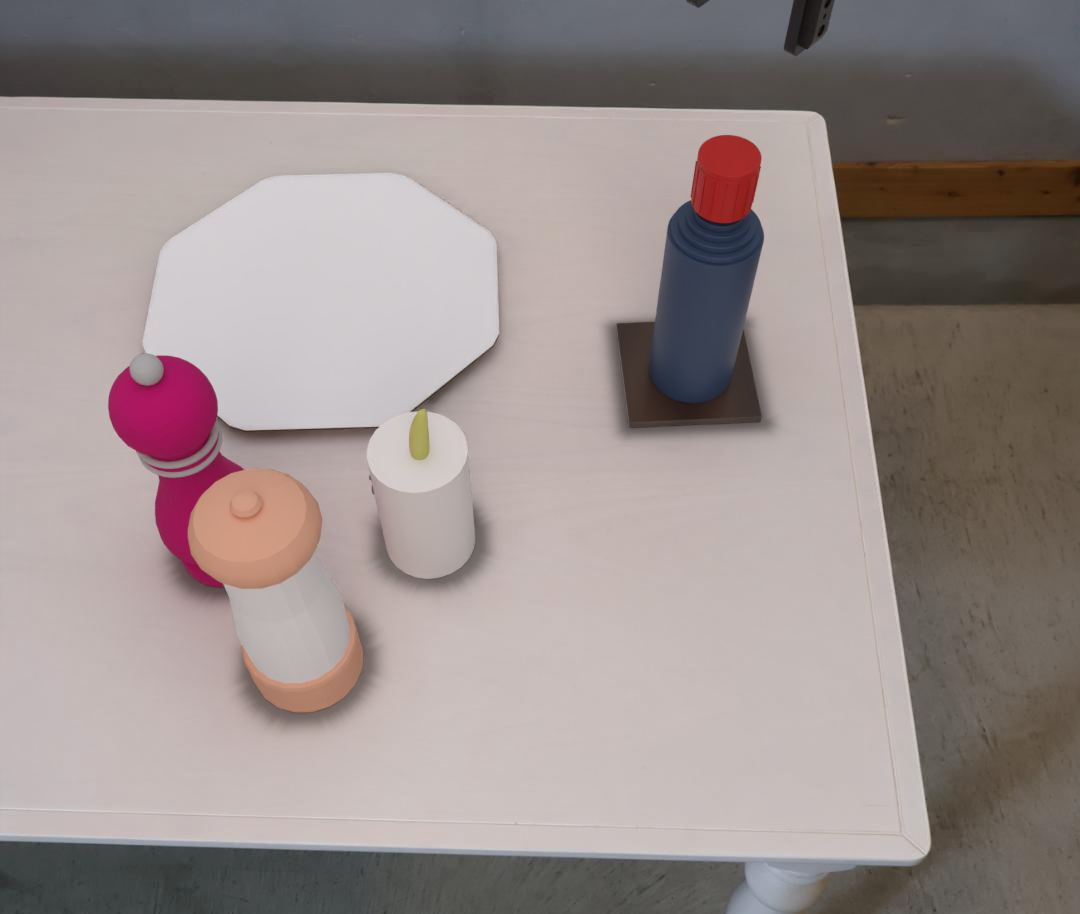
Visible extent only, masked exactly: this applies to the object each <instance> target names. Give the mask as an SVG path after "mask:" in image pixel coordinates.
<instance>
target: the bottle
mask: <svg viewBox="0 0 1080 914" xmlns="http://www.w3.org/2000/svg"><path fill="white" fill-rule="evenodd" d="M764 241H765V231H764V228H763V225H762V222H761V220H760V218H759V216H758V215H757V213H756V212H755V211H754V210H753V209H752V208H751V210H750V212H749V213H748V214H747V215H746V216H745V217H744V218H742V219H741V220H738V221H736V222H732V223H716V222H712V221H709V220H707V219H705V218H703V217H701V216H700V215H698V214H697V212H696V211H695V210H694V208H693V206H692V203H691V199H690V200H688V201H686V202H684V203H683V204H682V205H680V206H679V207H678V208H677V210H676V211H675V212H674V213H673V214H672V215H671V217H670V219H669V220H668V224H667V228H666V236H665V244H664V249H663V259H662V264H661V265H662V266H661V273H660V282H659V288H658V290H659V291H658V294H657V295H658V296H657V302H656V303H657V304H656V310H655V318H654V322H655V325H654V332H653V339H652V347H651V354H650V362H649V374H650V378H651V380H652V382H653V384H654V385H655V386H656V388H657V389H658V390H659V391H660V392H662V393H663V394H664V395H666V396H668V397H670V398H672V399H674V400H677V401H680V402H685V403H702V402H706V401H710V400H712V399H714V398H716V397H718V396H720V395H721V394H722V393H723V392H724V391H725V390H726V389H727V388H728V386H729V384H730V382H731V378H732V374H733V370H734V366H735V361H736V357H737V353H738V349H739V344H740V340H741V336H742V332H743V329H744V327H745V323H746V318H747V314H748V310H749V306H750V301H751V297H752V292H753V289H754V284H755V279H756V276H757V273H758V272H757V271H758V268H759V262H760V258H761V256H762V255H761V254H762V250H763V246H764Z"/></svg>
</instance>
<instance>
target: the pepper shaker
mask: <svg viewBox="0 0 1080 914" xmlns="http://www.w3.org/2000/svg"><path fill="white" fill-rule="evenodd" d="M322 527H323V516H322V512H321V510H320V505H319V502H318V501H317V499H316V498H315V496H314V495H313V494H312V493H311V492H310V490H309V488H307V487H306V486H305V484H303V483H302V482H301V481H299V480H298V479H296V478H295V477H293V476H292V475H290V474H288V473H286V472H285V473H284V472H281V471H277V470H274V469H269V468H245V469H244V470H242V471H238V472H234V473H231V474H229V475H227V476H225V477H223V478H222V479H220V480H218V481H216V482H215V483H214V484H213V485H212V486H211V487H210V488H209V489H208V490H206V491H205V492H204V493H203V494H202V496H201V497H200V498H199V500H198V501H197V503H196V505H195V507H194V509H193V510H192V512H191V515H190V521H189V526H188V541H189V546H190V551H191V555H192V557H193V558H194V559H195V561H196V562H197V564H198V565H199V567H200V568H201V570H203V571H204V572H206V573H207V574H209V575H210V576H212V577H213V578H214V579H216V580H217V581H219V582H221V583H223V585H224V587H223V588H224V589H225V591H226V594H227V596H228V598H229V604H230V611H231V617H232V623H233V628H234V632H235V635H236V637H237V639H238V641H239V642H240V644H241V647H240V649H241V652H242V653H241V654H242V658H243V662H244V665H245V667H246V669H247V671H248V673H249V675H250V677H251V679H252V680H253V683H254V684H255V686H256V688H257V689H258V691H259V692H260V694H261V695H262V697H263V698H264V699H265V700H266V701H268V702H269V703H270V704H272V705H273V706H275V707H276V708H278V709H281V710H284V711H287V712H290V713H314V712H317V711H321V710H324V709H327V708H330V707H332V706H333V705H335V704H336V703H338V702H339V701H341V700H342V699H344V698H345V697H346V696H347V695H348V694H349V693H350V691H352V689H353V688H354V687H355V686H356V685H357V682H358V680H359V678H360V675H361V674H362V672H363V668H364V656H365V655H364V654H365V652H364V648H363V645H362V642H361V637H360V635H359V631H358V628H357V625H356V622H355V618H354V616H353V613H352V612H351V611H350V609H349V608H348V606H346V604H345V602H344V599H343V596H342V592H341V589H340V587H339V585H338V584H337V583H336V581H335V580H334V578H333V577H332V575H331V574H330V572H329V571H328V570H327V568H326V566H325V565H324V564H323V562H322V561H321V557H320V554H319V552H318V549H317V547H318V545H319V543H320V540H321V537H322Z"/></svg>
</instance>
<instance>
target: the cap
mask: <svg viewBox="0 0 1080 914" xmlns="http://www.w3.org/2000/svg"><path fill="white" fill-rule="evenodd" d="M761 164H762V154H761V151H760V149H759V147H758V146H757V145H756V144H755V143H753V142H752V141H751V140H749V139H748V138H745V137H742V136H739V135H733V134H721V135H716V136H712V137H710V138H708V139H706V140H705V141H704V142H703V143H702V144H701V145H700V146H699V148H698V152H697V157H696V160H695V165H694V170H693V171H694V172H693V176H692V177H693V178H692V185H691V191H690V200H691V203H692V206H693V208H694V210H695V211H696V212H697V214H698V215H700V216H701V217H703V218H705V219H707V220H709V221H712V222H716V223H732V222H736V221H738V220H741V219H742V218H744V217H745V216H746V215H747V214H748V213H749V212H750V210H751V209H752V206H753V203H754V202H755V201H754V200H755V196H756V192H757V187H758V182H759V177H760V173H761V168H762V166H761Z"/></svg>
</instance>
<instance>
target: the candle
mask: <svg viewBox="0 0 1080 914" xmlns="http://www.w3.org/2000/svg"><path fill="white" fill-rule="evenodd" d="M469 459H470V458H469V447H468V440H467V438H466V436H465V433H464V432H463V430H462V429H461V428H460V427H459V425H458V424H457V423H456V422H454V421H453V420H451V419H450V418H448V417H447V416H445V415H443V414H439V413H436V412H433V411H427V410H426V409H425V408H421V409H419V410H417V411H415V410H414V411H412V412H407V413H403V414H400V415H397V416H395V417H393V418H391V419H389V420H387V421H386V422H384V423H383V424H382V425H381V426H380V427H379V428H376V429H375V431H374V432H373V434H372V435H371V437H370V438H369V441H368V444H367V447H366V462H367V467H368V471H369V472H368V473H369V475H368V480H369V481H370V482H371V494H372V495H373V496H374V499H375V503H376V507H377V512H378V516H379V517H378V518H379V521H380V522H379V523H380V527H381V530H382V531H381V532H382V535H383V540H384V545H385V549H386V552H387V555H388V557H389V559H390V560H391V562H392V563H393V564H394V565H395V567H396V568H397V569H399V570H400V571H401V572H402V573H404V574H407V575H409V576H411V577H414V578H416V579H417V578H418V579H424V580H425V579H427V580H429V579H439V578H442V577H446V576H449V575H452V574H453V573H454V572H457V571H458V570H460V569H461V568H462V567H463V566H464V565H465V564H467V562H468V561H469V559H470V558H471V557H472V554H473V552H474V550H475V545H476V528H475V517H474V505H473V495H472V494H473V493H472V482H471V471H470V460H469Z"/></svg>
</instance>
